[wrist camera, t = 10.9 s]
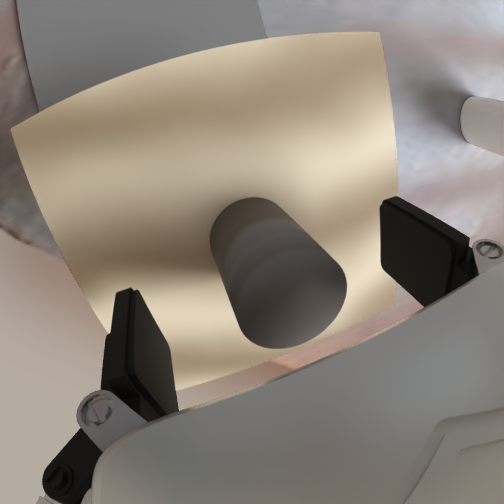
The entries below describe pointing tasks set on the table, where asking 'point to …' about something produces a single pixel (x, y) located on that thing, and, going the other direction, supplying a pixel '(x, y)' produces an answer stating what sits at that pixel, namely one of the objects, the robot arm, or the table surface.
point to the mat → (122, 37)
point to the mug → (484, 123)
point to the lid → (227, 194)
